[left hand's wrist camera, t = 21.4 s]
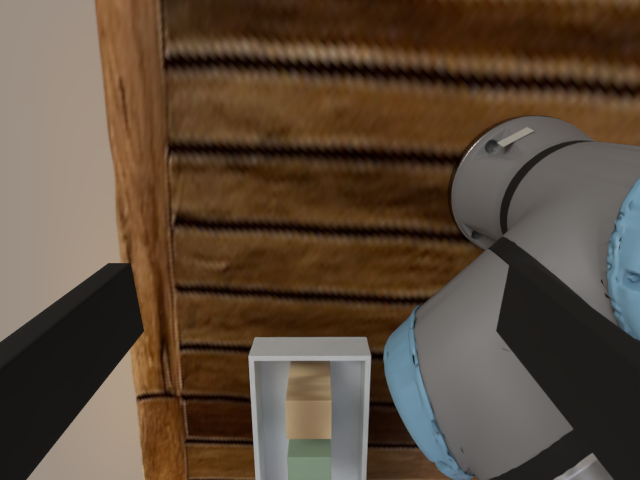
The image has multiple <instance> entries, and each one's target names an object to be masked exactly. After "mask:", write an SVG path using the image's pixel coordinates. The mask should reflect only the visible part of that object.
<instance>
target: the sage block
mask: <svg viewBox="0 0 640 480" xmlns="http://www.w3.org/2000/svg"><path fill="white" fill-rule="evenodd" d="M287 468H288V480H331V439H289V445H288V455H287Z"/></svg>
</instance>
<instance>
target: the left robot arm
mask: <svg viewBox="0 0 640 480" xmlns="http://www.w3.org/2000/svg"><path fill="white" fill-rule="evenodd" d="M448 203H449V209H450V213H451V216H452V218H453V220H454V222H455V224H456V226H457V227H458V229H459V230H460V231H461V233H462V234H463V235H464V236H465V237H466V238H468V239H469V240H470V241H471V242H472V243H474V244H475V245H477V246H478V247H480V248H482V249H484V250H485V251H484V252H483V253H482V254H481V255H480V256H479V257H478V258H476V259H475V260H474V261H473V262H472V263H471V264H469V265H468V266H467V267H466V268H465V269H464V270H462V271H461V272H460V273H459V274H458V275H457V276H456V277H454V278H453V279H452V280H451V281H450V282H449V283H447V284H446V285H445V286H444V287H443V288H442V289H440V290H439V291H438V292H437V293H436V294H435V295H433V296H432V297H431V298H430V299H429V300H428V301H426V302H425V303H424V304H423V305H422V306H420V305H418V306H417V307H416V308H414V309H413V311H412V313H411V316H410V317H409V318H408V319H407V320H406V321H405V322H403V323H402V324H401V325H400V326H399V327H398V328H397V329H396V330H395V331H394V332H393V333H392V334H391V335H390V337H389V338H388V340H387V342H386V345H385V348H384V358H383V359H384V365H385V367H384V369H385V376H386V380H387V384H388V387H389V390H390V393H391V396H392V399H393V401H394V404H395V406H396V408H397V410H398V412H399V415H400V417H401V418H402V420H403V422H404V424H405V426H406V428H407V430H408V431H409V433H410V435H411V436H412V438H413V439H414V441H415V443H416V444H417V445H418V447H419V448H420V450H421V451H422V452H423V453H424V455H425V456H426V457H427V458H428V459H429V460H430V461H431V462H435V464H436V466H437V468H438V470H439V471H440V472H442V473H443V474H444V475H446V476H447V477H449V478H451V479H454V480H463V479H465V480H470V479H472V478H473V477H474V476H476V477H477V478H478V479H479V480H640V146H633V145H624V144H615V143H606V142H596V141H594V140H593V139H592V138H590V137H589V136H588V135H586V134H585V133H584V132H582V131H581V130H580V129H578V128H577V127H575V126H574V125H572V124H570V123H568V122H565V121H563V120H560V119H557V118H553V117H548V116H533V115H529V116H519V117H514V118H510V119H507V120H504V121H501V122H499V123H497V124H495V125H493V126H491V127H489V128H488V129H486V130H485V131H483V132H482V133H481V134H479V135H478V136H477V137H476V138H475V139H474V140H473V141H472V142H471V143H470V144H469V145H468V146H467V147H466V148H465V150H464V151H463V153H462V154H461V155H460V157H459V159H458V161H457V162H456V165H455V167H454V169H453V172H452V174H451V178H450V182H449V188H448ZM143 332H144V329H143V324H142V319H141V313H140V308H139V303H138V298H137V293H136V288H135V283H134V278H133V273H132V268H131V263H108V264H107V265H105V266H104V267H103V268H101V269H100V270H99V271H97V272H96V273H94V274H93V275H92V276H90V277H89V278H88V279H86V280H85V281H84V282H82V283H81V284H79V285H78V286H77V287H75V288H74V289H73V290H71V291H70V292H68V293H67V294H66V295H64V296H63V297H62V298H60V299H59V300H58V301H56V302H55V303H53V304H52V305H51V306H49V307H48V308H47V309H45V310H44V311H43V312H41V313H40V314H38V315H37V316H36V317H34V318H33V319H31V320H30V321H29V322H27V323H26V324H25V325H23V326H22V327H20V328H19V329H18V330H16V331H15V332H14V333H12V334H11V335H10V336H8V337H7V338H5V339H4V340H3V341H1V342H0V480H26V479H27V478H28V477H29V476H30V474H31V473H32V472H33V471H34V469H35V468H36V467H37V466H38V464H39V463H40V462H41V460H42V459H43V458H44V457H45V455H46V454H47V453H48V452H49V450H50V449H51V448H52V447H53V445H54V444H55V443H56V441H57V440H58V439H59V438H60V436H61V435H62V434H63V433H64V431H65V430H66V429H67V428H68V426H69V425H70V424H71V423H72V421H73V420H74V419H75V418H76V416H77V415H78V414H79V412H80V411H81V410H82V409H83V407H84V406H85V405H86V404H87V402H88V401H89V400H90V399H91V397H92V396H93V395H94V394H95V392H96V391H97V390H98V388H99V387H100V386H101V385H102V383H103V382H104V381H105V380H106V378H107V377H108V376H109V375H110V373H111V372H112V371H113V370H114V368H115V367H116V366H117V364H118V363H119V362H120V361H121V359H122V358H123V357H124V356H125V354H126V353H127V352H128V351H129V349H130V348H131V347H132V346H133V344H134V343H135V342H136V341H137V339H138V338H139V337H140V335H141V334H142V333H143Z"/></svg>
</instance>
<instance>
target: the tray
mask: <svg viewBox="0 0 640 480" xmlns="http://www.w3.org/2000/svg"><path fill="white" fill-rule="evenodd" d="M291 361H330V375H331V394H332V437H331V480H366V471H367V447H368V422H369V397H370V372H371V353H370V349H369V345H368V341H367V338H366V337H255V339H254V342H253V345H252V348H251V351H250V354H249V373H250V390H251V407H252V424H253V442H254V459H255V476H256V480H288V468H287V455H288V445H289V439H287V438H286V404H285V400H286V393H287V385H288V377H289V370H290V362H291Z"/></svg>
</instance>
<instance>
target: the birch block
mask: <svg viewBox="0 0 640 480" xmlns="http://www.w3.org/2000/svg"><path fill="white" fill-rule="evenodd" d="M285 404H286V438H287V439H331V437H332V394H331V375H330V361H291V362H290V370H289V377H288V385H287V393H286V400H285Z"/></svg>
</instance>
